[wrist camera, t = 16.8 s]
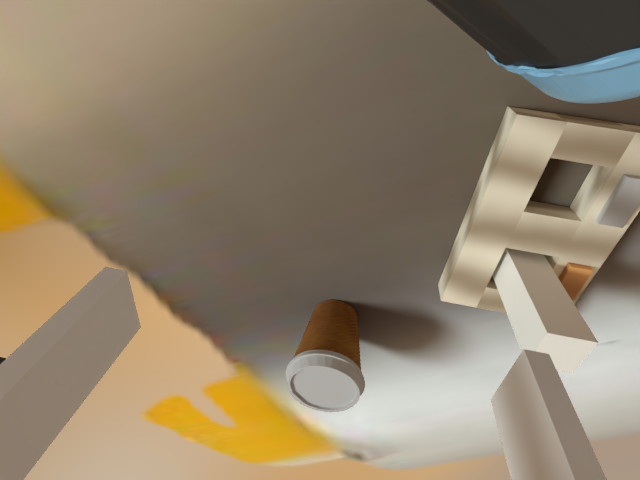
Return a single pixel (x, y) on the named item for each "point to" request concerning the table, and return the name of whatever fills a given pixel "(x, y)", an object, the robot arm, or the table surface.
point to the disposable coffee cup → (328, 360)
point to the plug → (542, 309)
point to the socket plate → (545, 204)
